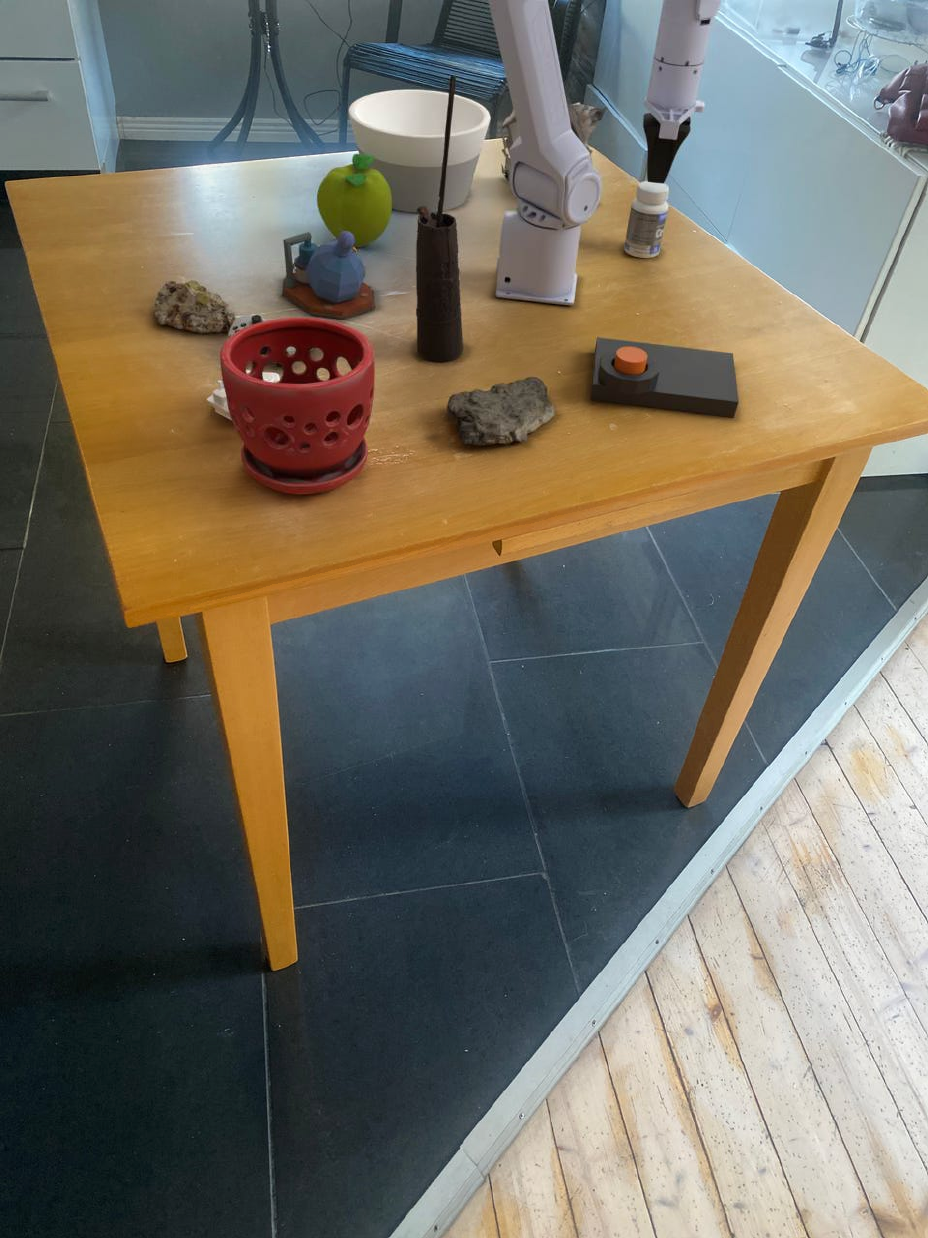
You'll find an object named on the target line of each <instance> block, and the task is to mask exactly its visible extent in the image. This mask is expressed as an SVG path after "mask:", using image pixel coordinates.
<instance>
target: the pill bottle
mask: <svg viewBox="0 0 928 1238" xmlns="http://www.w3.org/2000/svg"><path fill="white" fill-rule="evenodd" d="M669 192H670V187H669V185H668V184H666V183H664V184H661V183H652V182H648V180H644V181H641V182H639V183H638V185H637V188H636V194H635V198H634V199H633V200H632V201H631V206H630V212H629V218H628V223H627V228H626V233H625V240H624V246H623V247H624V252H625V253H626V254H628V255H630V256H632V257H635V258H640V259H650V258H651V259H652V258H654V257H657V256H658V255H659V254H660V251H661V247H662V241H663V237H664V232H665V227H666V222H667V217H668V212H669V203H668V202H667V201H668V198H669V194H670V193H669Z"/></svg>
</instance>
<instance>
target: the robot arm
mask: <svg viewBox="0 0 928 1238" xmlns="http://www.w3.org/2000/svg"><path fill="white" fill-rule="evenodd" d="M487 2H488V6H489V10H490V11H489V12H490V14H491V19H492V23H493V28H494V31H495V35H496V40H497V44H498V48H499V52H500V57H501V61H502V66H503V70H504V73H505V78H506V82H507V86H508V91H509V94H510V95H509V96H510V99H511V104H512V109H513V108H514V112H515V116H516V121H517V125H518V129H519V133H520V136H519V137H518V138H517V139H516V141H515V142H514V143H513V145H512V146H511V148H510V149H509V152H508V155H509V154H510V155H509V158H510V159H511V171H510V182H509V187H510V191H511V192H512V195H513V196H514V197H515V198H516V199H517V204H516V205H517V209H513V210H511V209H510V210H509V209H508V210H505V211H504V214H503V217H502V224H501V232H500V239H499V240H500V241H499V250H498V251H499V253H498V258H497V261H496V269H495V270H496V271H495V272H496V274H497V276H496V287H495V288H496V289H495V296H496V297H497V298H502V299H512V300H519V301H521V300H522V301H529V302H536V303H544V304H555V305H562V306H573V305H574V304H575V298H576V291H577V283H578V273H576V266H577V261H578V260H577V259H578V252H579V246H580V245H579V244H580V239H581V231H582V225H584V224H586V223H587V222H588V220H589V218H591V216H592V215H593V214H594V213H595V211H596V209H597V207H598V206H599V203H600V200H601V197H602V191H603V181H602V177H601V174H600V173H599V171H597V169H596V168H595V166H594V164H593V165H592V163H593V161H592V162H591V159H592V156H591V157H590V153H589V151H588V150H587V149H586V147H585V146H584V145H583V144H582V142H581V141H580V140H579V139H578V137H577V136H576V135H575V133H574V132H573V131H572V129H571V124H570V118H569V113H568V108H567V104H568V103H567V98H566V92H565V86H564V81H563V76H562V70H561V65H560V59H559V54H558V49H557V43H556V38H555V33H554V28H553V21H552V17H551V11H550V5H549V0H487ZM721 3H722V0H663V1H662V6H661V12H660V19H659V25H658V28H657V29H658V30H657V36H656V40H655V41H656V42H655V48H654V53H653V59H652V65H651V71H650V76H649V83H648V88H647V94H646V96H645V97H644V102H643V106H644V108H645V109H646V110H647V111H648V112H647V113H644V114H643V118H642V128H643V132H644V136H645V139H646V140H645V141H646V148H647V162H646V164H647V165H646V177H647V178H646V179H647V180H646V181H648V182H652V183H661V184H665V182H666V180H667V178H668V176H669V173H670V171H671V168H672V166H673V162H674V160H675V158H676V155H677V153H678V151H679V150H680V148H681V146H682V145H683V143H684V141H685V140H686V139H687V137H689V134H690V132H691V129H692V127H691V122H692V121H691V120H692V119H691V116H692V115H693V114H694V113H704V112H705V108H706V103H705V101H703V100H698V99H697V97H698V91H699V87H700V82H701V77H702V71H703V68H704V62H705V58H706V53H707V48H708V43H709V37H710V32H711V28H712V24H713V19H714V18H716V16H717V15H718V12H719V11H720V8H721Z"/></svg>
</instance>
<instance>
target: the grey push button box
mask: <svg viewBox="0 0 928 1238" xmlns="http://www.w3.org/2000/svg"><path fill="white" fill-rule="evenodd" d="M594 347H595V348H594V354H593V365H592V377H591V389H590V401H594V402H595V401H596V402H604V403H613V404H619V405H620V404H621V405H628V406H636V407H637V406H638V407H645V408H653V409H661V410H669V411H676V412H677V411H678V412H686V413H692V414H693V413H694V414H701V415H711V416H719V417H727V418H735V416H736V412H737V409H738V406H739V402H740V401H739V394H738V386H737V385H738V384H737V378H736V377H737V376H736V368H735V358H734V353H733V352H725V351H716V350H708V349H699V348H692V347H685V346H676V345H668V344H667V345H665V344H659V343H658V344H657V343H649V342H642V341H633V340H625V339H615V338H607V337H598V336H597V337H596V341H595V346H594ZM622 347H636V348H639V349H641V350H643V351H644V352H646V354H647V361H646V366H645V370H644V372H643V373H642V374H636V375H632V374H624V373H622V372H620V371H617V370H616V369H615V368H614V362H615V357H616V352H617V350H618V349H620V348H622Z"/></svg>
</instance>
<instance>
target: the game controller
mask: <svg viewBox="0 0 928 1238" xmlns="http://www.w3.org/2000/svg"><path fill="white" fill-rule="evenodd" d="M268 320H270V319H269V318H265V317H262V316H261V315H260V314H243V315H240V316H238V317H236V318H235V320H234V322H233V324H232V326H231V328H230V330H229V332H227V333H228V334H227V340H228V339H229V338H230V337H231V336H232V335H233V334H235V333H236V332H238V331H240V330H242V329H244V328H246V327H248V326H250V325H253V324H256V323H260V322H263V321H268ZM315 349H316V348H313V349H311V350H310V352H312V351H314V350H315ZM267 352H268V347H267V346H265V347H263V348H262V349H261V350H260V354H261V355H262V356H263V355H265V354H266V353H267ZM295 352H296V349H295V348H294V347H288V348H287V349H286V353H287V354H288V355H292V354H294V353H295ZM275 364H276V367H277V368H282V367H281V365H280V364H278V363H275Z"/></svg>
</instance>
